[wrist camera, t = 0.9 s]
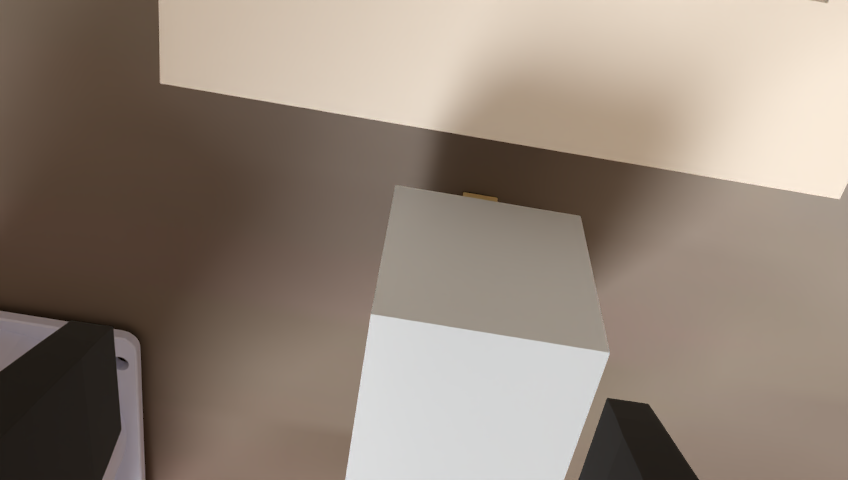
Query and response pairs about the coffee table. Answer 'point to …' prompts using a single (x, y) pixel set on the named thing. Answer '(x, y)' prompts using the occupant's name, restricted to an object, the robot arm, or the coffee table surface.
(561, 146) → the socket board
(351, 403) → the coffee table surface
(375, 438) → the plug
